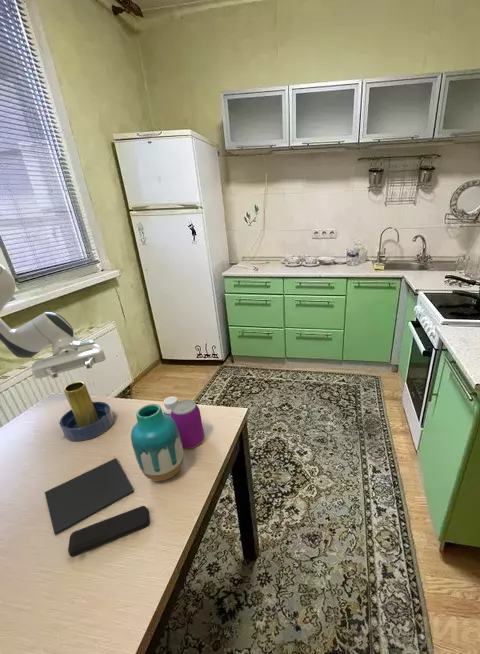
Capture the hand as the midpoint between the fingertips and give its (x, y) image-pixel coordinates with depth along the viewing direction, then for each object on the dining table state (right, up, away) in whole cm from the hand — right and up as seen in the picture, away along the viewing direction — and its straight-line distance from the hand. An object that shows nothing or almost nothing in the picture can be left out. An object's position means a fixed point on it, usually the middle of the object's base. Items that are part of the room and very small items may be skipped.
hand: (72, 371), depth 101 cm
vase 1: (+7, -17, -3) cm, 18 cm away
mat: (+21, -27, -24) cm, 42 cm away
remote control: (+31, -32, -33) cm, 55 cm away
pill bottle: (+33, -16, -3) cm, 37 cm away
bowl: (+7, -17, -3) cm, 18 cm away
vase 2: (+37, -25, -19) cm, 48 cm away
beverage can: (+40, -19, -9) cm, 45 cm away
